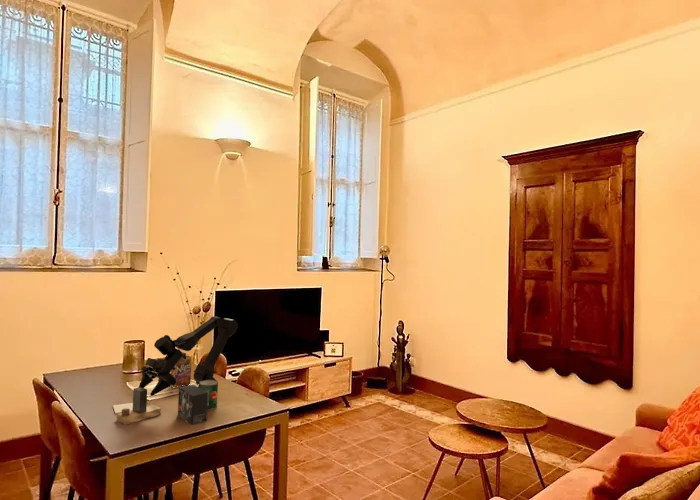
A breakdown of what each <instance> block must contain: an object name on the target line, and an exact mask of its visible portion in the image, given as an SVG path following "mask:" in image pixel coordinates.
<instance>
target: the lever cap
mask: <svg viewBox="0 0 700 500" xmlns="http://www.w3.org/2000/svg"><path fill="white" fill-rule="evenodd" d="M138 387H139V386H138ZM138 387H135V388H133V394H132V403H133V411H134V412H137V413H139V414H140V413H143V412H146V407H147V406H148V405H147V404H148V403H147V401H148V389H146V388H145V387H144V388H142V387H139V388H138Z"/></svg>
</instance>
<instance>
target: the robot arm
mask: <svg viewBox="0 0 700 500" xmlns="http://www.w3.org/2000/svg"><path fill="white" fill-rule="evenodd" d="M217 327H218V334H217V336H216V338H215V340H214V342H213V345H212V346H211V348H210V350H209V352H208V354H207V356H206V358H205V360H204V362H202V363H201V364H200V363H198V364H197V366H196V367H195V370H193V379H194V381H195V383H196V384H195V385H198V386H197V387H199V386H200V384H199V383H200V382H201V381H204V380H216V378H215V377H214V374H215V365H216V364H217V362H218V359H219V357H220V355H221V353H222V352H223V349H224V347H225V345H226V344H227V341H228V339H229V338H231V336H233V335H234V334H235V332H237V330H238V327H239V324H238V321H237V320H236V319H234V318H233V319H231V318H227V317H226V318H225V317H224V318H222V317H219V316H210V319H208V320H207V321H205V322H204V323H202V324H201V325H199V326H198V327H197V328H195V329H194V330H193V331H191V332H188V333H185V334H182V335H180V336H178V337H177V338H176V339H173V340H172V338H171V337H170V336H169V335H168V334H165V335H164V336H161V337H159V338H158V339H157V340H155V342H154V344H153V345H154V348H156V350H157V351H159V353H161V355H163V356H165V357H164V358H157V359H155V358H152V357H147V359H146V362H145V364H144V365H142V367H141V368H140V371H141V374H142V377H141V379H140V380H141V381H140V382H139V385H138V387H137V388H139V387H142V388H144V389H145V388H146V387H147V386H149V384H151V383H152V382H153V381H154V379H155V378H158V380H157V383H156V385H155V386H154V387H153V389H152V390H151V391H150V394H149V396H151V397H153V396H154V395H156V394H159V393H161V392H162V391H164V390H166V389H168V388H172V387H171V386H174V385H175V384H176V382H177V379H176V378H175V377H174V376H173V375H172V374H171V370H175V369H176V368H175V365H176V364H177V363H178V362H179V360H180V359H181V358H182V359H185V360H186V355H187V353H186V352H190V351H192V349H194V348H195V347H196V346H197V344H198V341H200V340H201V339H203V338H204V337H205V336H206V335H208V334H209V333H210V332H211V331H213V330H214V329H215V328H217ZM184 351H185V352H184Z"/></svg>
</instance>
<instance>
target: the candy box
mask: <svg viewBox="0 0 700 500" xmlns="http://www.w3.org/2000/svg"><path fill="white" fill-rule="evenodd" d="M192 361H193V356H192V355H191V354H190V353H189V354H187V353H186V360H185V359H182V358H181V359H180V360H179V362H178V363H177V364H176V365H175V368H176V369H175V370H171V372H170V373H171V374H172V375H173V376H174V377H175V378H176V379H177V382H176V384H175V385H174V386H172V387H177V386H182V385H189V384H190V385H191V377H192V364H193V363H192ZM190 385H189V386H190ZM172 387H171V388H172ZM177 388H178V387H177Z"/></svg>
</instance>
